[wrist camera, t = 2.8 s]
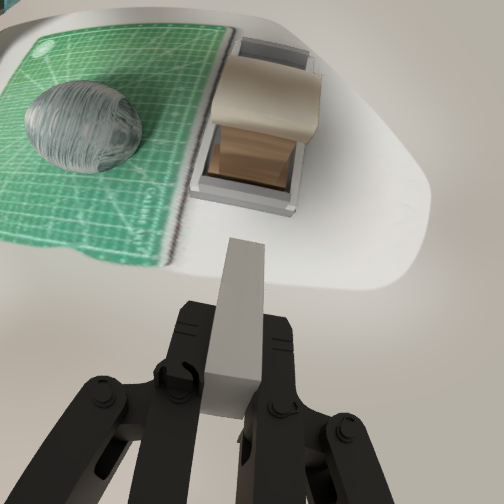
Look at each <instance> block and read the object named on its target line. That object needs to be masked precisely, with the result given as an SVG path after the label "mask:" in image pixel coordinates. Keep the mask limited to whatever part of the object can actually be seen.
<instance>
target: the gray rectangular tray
mask: <svg viewBox="0 0 504 504" xmlns="http://www.w3.org/2000/svg"><path fill="white" fill-rule="evenodd" d="M230 55H236V56H242V57H247V58H253V59H258V60H263V61H268V62H272V63H277V64H281V65H285V66H289V67H293V68H297V69H301V70H305V71H309V72H312V73H313V64H314V58H313V57H310V56H309V51H305V50H302V49H298V48H294V47H290V46H286V45H281V44H277V43H272V42H267V41H263V40H257V39H252V38H246V37H243V38H242V41H235V44H234V46H233V49H232V52H231V54H230ZM221 126H222V125H218V124H212V110H211V114H210V117H209V120H208V123H207V126H206V130H205V133H204V136H203V140H202V143H201V147H200V150H199V154H198V157H197V161H196V164H195V168H194V172H193V175H192V179H191V183H190V187H189V194H190V197H192V198H197V199H203V200H208V201H213V202H218V203H223V204H229V205H234V206H239V207H244V208H248V209H253V210H258V211H263V212H268V213H272V214H277V215H282V216H286V217H291V216H292V215H293V214H294V213H295V212H296V207H297V202H298V195H299V187H300V180H301V172H302V164H303V156H304V148H305V143H302V142H298V141H297V142H296V144H295V146H294V148H293V150H292V152H291V154H290V156H289V158H288V159H290V161H289V168H288V174H287V181H286V188H285V189H284V191H283V192H282V191H278V190H273V189H269V188H264V187H260V186H255V185H250V184H245V183H240V182H235V181H230V180H225V179H220V178H215V177H209V176H208V170H209V166H210V162H211V158H212V154H213V151H214V147H215V143H216V144H221Z"/></svg>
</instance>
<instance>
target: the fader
mask: <svg viewBox="0 0 504 504" xmlns="http://www.w3.org/2000/svg"><path fill="white" fill-rule="evenodd" d="M321 79H322V75H319V74H316V73H312V72H309V71H305V70H301V69H297V68H293V67H289V66H285V65H281V64H277V63H272V62H268V61H263V60H258V59H253V58H247V57H242V56H236V55H229V56H228V58H227V61H226V64H225V67H224V69H223V72H222V75H221V78H220V81H219V84H218V87H217V90H216V93H215V96H214V99H213V102H212V124H218V125H222V126H221V144H216V143H215V147H214V151H213V154H212V158H211V162H210V166H209V170H208V176H209V177H215V178H220V179H225V180H230V181H235V182H240V183H245V184H250V185H255V186H260V187H264V188H269V189H273V190H278V191H282V192H283V191H284V189H285V188H286V181H287V174H288V168H289V161H290V159H288V158H289V156H290V154H291V152H292V150H293V148H294V146H295V144H296V142H297V141H298V142H302V143H306V144H308V143H309V141H310V139H311V138H312V136H313V134H314V133H315V131H316V129H317V127H318V117H319V105H320V93H321Z"/></svg>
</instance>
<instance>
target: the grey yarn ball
mask: <svg viewBox="0 0 504 504" xmlns="http://www.w3.org/2000/svg"><path fill="white" fill-rule="evenodd" d="M25 129H26V133H27V136H28V138H29V140H30V142H31V144H32V146H33V148H34V149H35V150H36V151H37V153H38V154H39V155H41V156H42V157H43V158H44V159H45V160H47V161H48V162H49V163H51V164H53V165H55V166H57V167H59V168H61V169H64V170H67V171H70V172H75V173H83V174H94V173H100V172H104V171H107V170H110V169H112V168H114V167H116V166H118V165H120V164H121V163H123V162H125V161H126V160H127V159H129V158H130V157H131V156H132V155H133V154H134V152H135V151H136V149H137V148H138V146H139V143H140V140H141V136H142V123H141V120H140V117H139V115H138V113H137V111H136V109H135V108H134V106H133V105H132V103H131V102H130V101H129V100H128V99H127V98H126V97H125V96H124V95H123V94H121V93H120V92H119V91H117V90H115V89H113V88H111V87H109V86H107V85H105V84H102V83H98V82H94V81H86V80H82V81H70V82H66V83H62V84H59V85H56V86H54V87H52V88H50V89H49V90H47V91H45V92H44V93H42V94H41V95H40V96H39V97H37V98H36V99H35V100H34V102H33V103H32V104H31V106H30V107H29V108H28V110H27V112H26V115H25Z"/></svg>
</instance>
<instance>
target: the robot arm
mask: <svg viewBox="0 0 504 504" xmlns="http://www.w3.org/2000/svg"><path fill="white" fill-rule="evenodd" d="M19 1H20V0H0V15H2V14H4V13H5V12H6V11H7V10H8V9H9V8H11V7H12V6H14V5H15V4H16V3H17V2H19ZM264 252H265V244H260V243H255V242H250V241H245V240H240V239H235V238H229V243H228V248H227V253H226V259H225V264H224V269H223V274H222V279H221V284H220V289H219V295H218V300H217V305H216V306H214V305H209V304H204V303H199V302H194V301H188V302H187V303H186V304H185V305H184V306H183V307H182V308H181V309H180V312H179V315H178V318H177V322H176V325H175V328H174V333H173V335H172V339H171V342H170V346H169V349H168V353H167V356H166V359H164V360H163V361H161V362H160V363H159V364H157V366H156V368H155V370H154V371H153V373H154V379H153V380H151V381H149V382H147V383H141V384H121V383H120V382H119V381H118V380H116V379H115V378H112V377H109V376H96V377H94V378H91V379H90V380H89V381H87V382H86V383H85V384H84V386H83V387H82V388H81V390H80V391H79V392H78V394H77V395H76V396H75V398H74V399H73V401H72V402H71V403H70V405H69V406H68V408H67V409H66V410H65V412H64V413H63V415H62V416H61V417H60V419H59V420H58V422H57V423H56V425H55V426H54V428H53V429H52V430H51V432H50V433H49V435H48V436H47V438H46V439H45V440H44V442H43V443H42V445H41V447H40V448H39V449H38V451H37V453H36V454H35V455H34V457H33V458H32V460H31V462H30V463H29V465H28V466H27V468H26V469H25V471H24V472H23V474H22V475H21V477H20V479H19V480H18V482H17V483H16V485H15V487H14V488H13V490H12V491H11V493H10V495H9V496H8V498H7V500H6V502H5V503H4V504H98V502H99V500H100V498H101V497H102V495H103V493H104V491H105V489H106V488H107V486H108V484H109V482H110V481H111V479H112V477H113V475H114V474H115V472H116V470H117V468H118V467H119V465H120V463H121V461H122V460H123V458H124V456H125V454H126V453H127V451H128V449H129V447H130V446H131V444H132V442H133V441H137V440H141V444H140V448H139V453H138V457H137V461H136V466H135V470H134V475H133V479H132V484H131V489H130V494H129V499H128V504H187V496H188V488H189V481H190V473H191V467H192V460H193V453H194V445H195V439H196V433H197V425H198V420H199V413H203V414H208V415H214V416H221V417H227V418H234V419H241V420H242V419H243V417H244V415H245V418H244V419H245V420H244V428H243V430H242V431H241V433H240V435H239V437H238V440H237V443H240V451H239V464H238V477H237V491H236V504H306V497H307V500H308V504H394V501H393V498H392V495H391V493H390V490H389V487H388V485H387V482H386V479H385V477H384V474H383V471H382V469H381V466H380V464H379V461H378V458H377V456H376V453H375V451H374V448H373V446H372V443H371V441H370V438H369V435H368V433H367V430H366V428H365V426H364V424H363V423H362V421H361V420H360V419H359V418H358V417H356V416H355V415H353V414H350V413H338V414H336V415H334V416H333V417H330V416H327V415H324V414H322V413H319V412H316V411H314V410H312V409H310V408H308V407H307V406H306V405H304V404H303V403H302V401H301V400H300V399H299V397H298V395H297V392H296V386H295V365H294V353H293V351H294V349H293V333H292V328H291V326H290V324H289V322H288V320H287V318H286V317H280V316H274V315H268V314H263V301H264Z"/></svg>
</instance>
